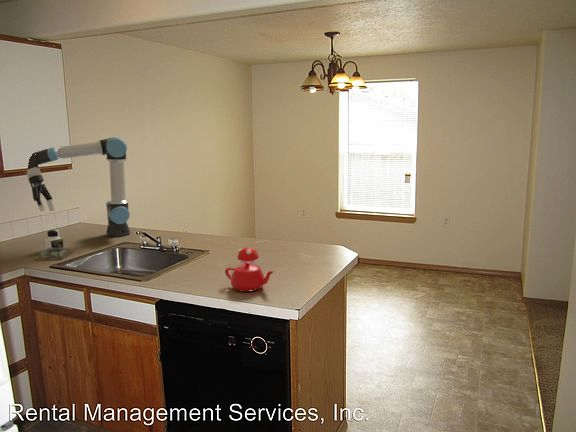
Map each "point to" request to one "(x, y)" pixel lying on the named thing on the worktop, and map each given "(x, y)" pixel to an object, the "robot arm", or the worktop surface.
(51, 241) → the medicine bottle
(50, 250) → the collar board
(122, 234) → the robot arm
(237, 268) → the teapot
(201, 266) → the worktop surface
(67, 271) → the worktop surface
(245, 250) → the mushroom
